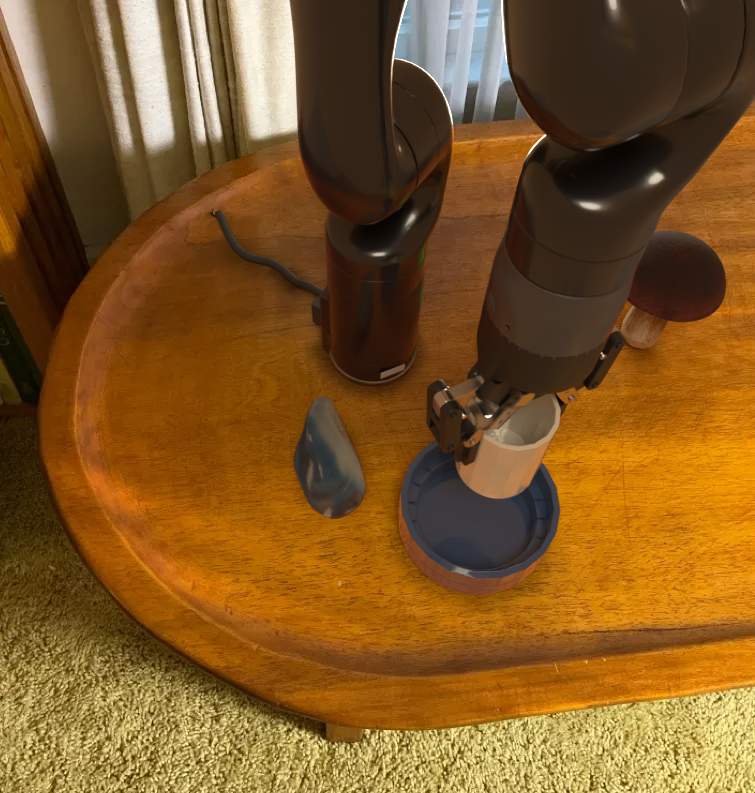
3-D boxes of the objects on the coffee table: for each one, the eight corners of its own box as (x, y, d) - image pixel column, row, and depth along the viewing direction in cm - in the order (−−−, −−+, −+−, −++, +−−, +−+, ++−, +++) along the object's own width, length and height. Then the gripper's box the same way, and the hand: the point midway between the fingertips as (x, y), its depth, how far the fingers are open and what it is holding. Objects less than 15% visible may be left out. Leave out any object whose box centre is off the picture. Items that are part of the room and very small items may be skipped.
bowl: (369, 541, 72) (370, 519, 67) (447, 431, 78) (453, 404, 73) (500, 627, 68) (511, 610, 63) (571, 505, 74) (586, 481, 69)
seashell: (341, 531, 69) (386, 431, 68) (261, 486, 72) (303, 390, 71) (366, 525, 75) (408, 433, 74) (292, 484, 78) (331, 395, 77)
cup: (439, 470, 61) (451, 419, 53) (480, 412, 63) (496, 355, 56) (511, 514, 59) (533, 466, 52) (549, 452, 62) (575, 398, 54)
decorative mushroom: (678, 392, 81) (739, 306, 68) (576, 364, 82) (618, 274, 70) (690, 315, 86) (749, 221, 73) (594, 289, 88) (636, 193, 75)
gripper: (475, 396, 40) (444, 516, 54) (694, 304, 43) (610, 439, 58) (409, 294, 43) (396, 432, 58) (617, 216, 47) (556, 364, 61)
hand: (503, 435), depth 58 cm, fingers closed on cup, 6 cm apart
